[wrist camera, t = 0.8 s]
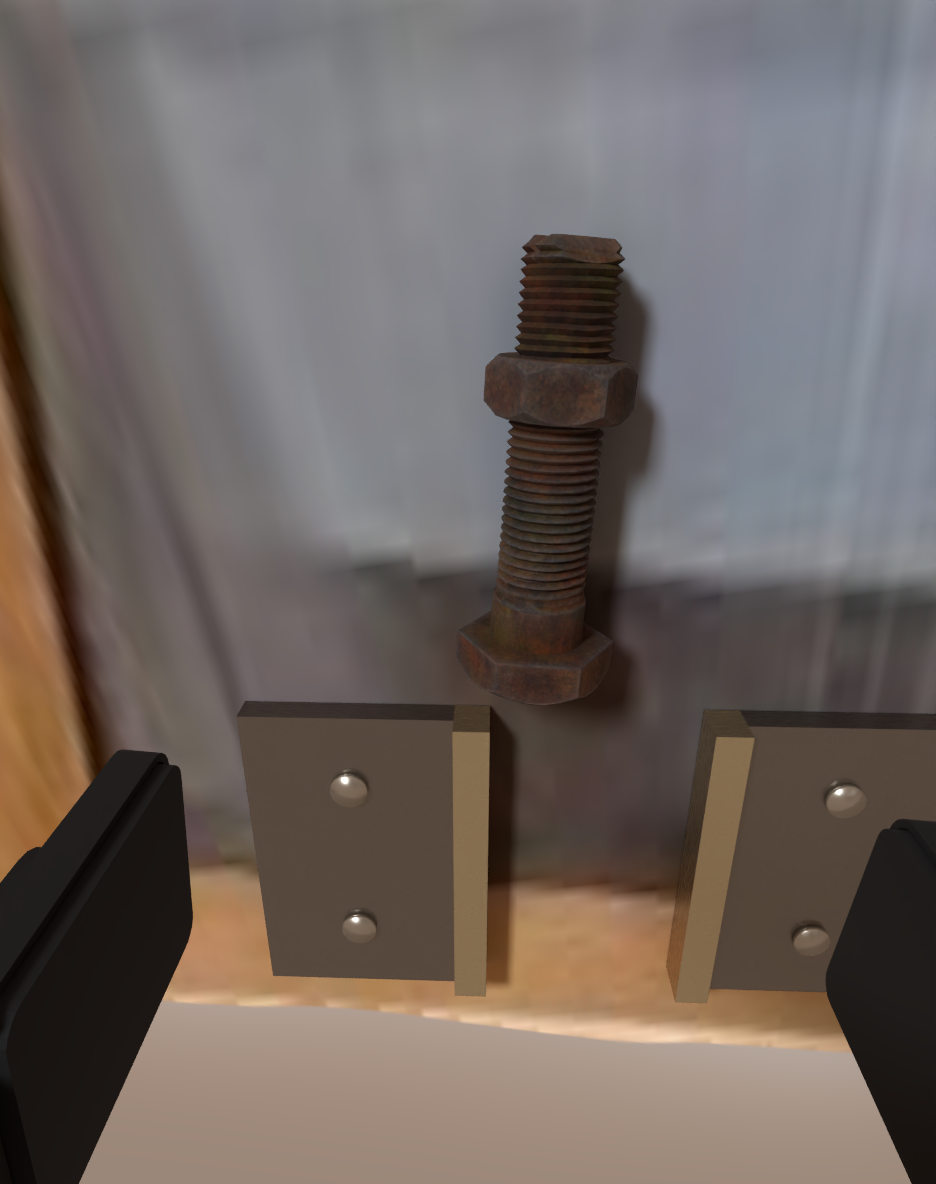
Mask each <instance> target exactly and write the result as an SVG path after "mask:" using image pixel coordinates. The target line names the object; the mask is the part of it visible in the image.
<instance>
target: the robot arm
mask: <svg viewBox="0 0 936 1184" xmlns="http://www.w3.org/2000/svg"><path fill="white" fill-rule="evenodd" d="M192 921H193V910H192V899H191V887H190V875H189V863H188V851H187V839H186V827H185V815H184V803H183V791H182V779H181V771H180V769H179V767H178V766H176V765H169V762H168V759H167V757H166V755H165V754H163V753H156V752H144V751H133V750H119V751H117V752H116V753H115V754H114V755H113V756H112V757H111V759H110V760H109V761H108V762H107V764H106V765H105V766H104V768H103V769H102V770H101V771H100V773H99V774H98V775H97V777H96V778H95V779H94V780H93V782H92V783H91V784H90V786H89V787H88V788H87V789H86V791H85V792H84V793H83V795H82V796H81V797H80V799H79V800H78V801H77V802H76V804H75V805H74V806H73V808H72V809H71V810H70V811H69V813H68V814H67V815H66V817H65V818H64V819H63V820H62V822H61V823H60V824H59V826H58V827H57V828H56V829H55V831H54V832H53V833H52V835H51V836H50V837H49V838H48V840H47V841H46V842H45V844H44V845H43V846H42V847H35V848H33V849H31V850H29V851H27V852H26V853H25V854H24V855H23V856H22V857H21V858H20V859H19V860H18V861H17V863H16V864H15V865H14V866H13V868H12V869H11V870H10V871H9V873H8V874H7V875H6V876H5V878H4V879H3V880H2V881H1V883H0V1184H79V1182H80V1180H81V1178H82V1175H83V1173H84V1171H85V1169H86V1167H87V1164H88V1162H89V1160H90V1158H91V1155H92V1153H93V1151H94V1149H95V1147H96V1144H97V1142H98V1140H99V1138H100V1136H101V1133H102V1131H103V1129H104V1127H105V1125H106V1122H107V1120H108V1118H109V1116H110V1113H111V1111H112V1109H113V1107H114V1104H115V1102H116V1100H117V1098H118V1096H119V1093H120V1091H121V1089H122V1087H123V1085H124V1082H125V1080H126V1078H127V1076H128V1074H129V1071H130V1069H131V1067H132V1065H133V1063H134V1060H135V1058H136V1056H137V1054H138V1051H139V1049H140V1047H141V1045H142V1043H143V1041H144V1038H145V1036H146V1034H147V1032H148V1029H149V1027H150V1025H151V1023H152V1021H153V1018H154V1016H155V1014H156V1012H157V1009H158V1007H159V1005H160V1003H161V1001H162V999H163V996H164V994H165V992H166V990H167V987H168V985H169V983H170V981H171V979H172V976H173V974H174V972H175V970H176V968H177V965H178V963H179V961H180V959H181V957H182V954H183V952H184V950H185V948H186V945H187V943H188V940H189V937H190V933H191V928H192ZM825 982H826V991H827V996H828V999H829V1001H830V1004H831V1006H832V1008H833V1011H834V1013H835V1015H836V1017H837V1020H838V1022H839V1024H840V1026H841V1028H842V1031H843V1033H844V1035H845V1037H846V1039H847V1042H848V1044H849V1046H850V1048H851V1050H852V1053H853V1055H854V1057H855V1059H856V1061H857V1064H858V1066H859V1068H860V1070H861V1073H862V1075H863V1077H864V1079H865V1081H866V1084H867V1086H868V1088H869V1090H870V1092H871V1095H872V1097H873V1099H874V1101H875V1104H876V1106H877V1108H878V1110H879V1112H880V1115H881V1117H882V1119H883V1121H884V1123H885V1125H886V1127H887V1130H888V1132H889V1134H890V1136H891V1139H892V1141H893V1143H894V1146H895V1148H896V1150H897V1152H898V1154H899V1157H900V1159H901V1161H902V1163H903V1165H904V1168H905V1170H906V1172H907V1174H908V1177H909V1179H910V1181H911V1183H912V1184H936V822H934V821H923V820H912V819H898V820H896V821H895V822H894V823H893V824H892V825H891V827H890V829H883V830H882V831H881V832H880V833H879V835H878V837H877V839H876V842H875V845H874V847H873V850H872V852H871V855H870V858H869V860H868V863H867V866H866V868H865V871H864V873H863V876H862V879H861V881H860V884H859V887H858V889H857V892H856V895H855V897H854V900H853V902H852V905H851V908H850V910H849V913H848V916H847V918H846V921H845V923H844V926H843V929H842V931H841V934H840V937H839V939H838V942H837V945H836V947H835V950H834V952H833V955H832V958H831V960H830V963H829V966H828V968H827V972H826V981H825Z"/></svg>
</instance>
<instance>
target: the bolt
mask: <svg viewBox="0 0 936 1184" xmlns="http://www.w3.org/2000/svg"><path fill="white" fill-rule="evenodd" d="M522 248H523V249H524V250H525V251H526V252H527V253H528V254H527V255H525V256H524V257H523V258H521V260H522V261H523V262H524V263H525V264H526V266H525V267H523V268H522V269H521V270H522V272H523V273H524V274H525V276H526V277H525V278H524V279H522V280H521V281H520V283H521V284H522V285H523V286H524V287H525V289H523V290H522V291H520V292H519V293H520V295H521V296H522V297H523V299H524V300H523V301H522V302H520V303H519V304H518V305H519V306H520V307H521V308H522V310H523V311H522V312H521V313H519V314H518V315H517V316H518V317H519V318H520V320H521V321H522V323H520V324H519V325H517V326H516V327H517V328H518V329H519V330H520V332H521V334H519V335H518V336H516V337H515V338H516V339H517V340H518V341H519V342H520V343H521V344H520V345H518V346H517V347H515V350H516V351H517V352H509V353H500V354H498V355H497V356H496V357H495V358H494V359H493V360H492V361H491V362H490V363H489V364H488V365H487V366H486V371H485V387H484V401H485V403H486V404H487V405H488V406H489V407H490V409H491V410H492V411H493V412H494V414H495V415H497V416H499V417H502V418H505V419H507V420H510V421H509V423H510V424H511V425H512V426H513V428H512V429H510V430H509V431H508V433H509V434H510V435H511V436H512V438H511V439H509V440H508V441H507V443H508V444H509V445H510V446H512V447H511V448H510V449H508V450H507V451H506V452H507V453H508V454H509V455H510V456H511V457H510V458H508V459H507V460H506V463H507V465H509V466H510V467H509V468H507V469H506V470H505V473H506V474H508V475H509V477H507V478H506V479H505V481H504V483H506V484H507V485H508V486H507V487H505V489H504V491H503V492H504V493H505V494H506V496H505V497H504V498H503V502H504V503H505V504H506V505H504V506H503V508H502V510H503V512H504V513H505V514H504V515H503V516H502V520H503V522H504V523H503V524H502V525H501V528H502V530H503V532H502V533H501V535H500V537H501V540H502V541H501V542H500V545H499V546H500V549H501V550H500V552H499V558H500V559H499V562H498V567H499V568H498V571H497V573H498V577H497V582H496V588H495V589H494V592H493V602H492V611H490V612H488V613H487V614H485V615H483V616H482V617H480V618H478V619H477V620H475V621H473V622H472V623H470V624H468V625H467V626H465V627H463V628H462V629H460V630H458V633H457V653H456V657H457V659H458V661H459V663H460V665H461V667H462V669H463V670H464V672H465V673H466V675H467V676H468V678H469V679H470V680H471V681H472V682H473V683H474V684H475V685H476V686H477V687H479V688H481V689H483V690H485V691H488V692H490V693H492V694H495V695H497V696H499V697H503V698H506V699H509V700H513V701H516V702H519V703H523V704H530V705H548V704H555V703H562V702H568V701H572V700H576V699H580V698H583V697H586V696H588V695H589V694H591V693H592V692H593V691H594V690H595V689H596V688H597V687H598V685H599V684H600V683H601V681H602V680H603V678H604V676H605V675H606V673H607V671H608V669H609V668H610V661H611V654H612V648H613V641H612V640H611V639H609V638H608V637H606V636H605V635H603V634H602V633H600V632H598V631H597V630H595V629H594V628H592V627H591V626H589V625H588V624H586V623H585V622H584V613H585V604H586V598H585V596H584V588H585V585H586V582H585V580H586V576H587V574H586V571H587V567H588V565H587V562H588V553H589V551H590V546H589V543H590V541H591V536H590V534H591V533H592V526H591V525H592V524H593V521H594V520H593V517H592V516H593V514H594V508H593V507H594V505H595V503H596V501H595V500H594V497H595V496H596V494H597V493H596V489H594V488H595V487H597V485H598V482H597V480H596V479H595V478H596V477H598V475H599V472H598V471H597V470H596V468H598V467H599V465H600V462H599V461H598V460H597V458H598V457H600V455H601V452H600V451H599V450H598V448H599V447H601V446H602V442H601V441H600V440H599V438H601V437H602V436H603V435H604V434H603V432H602V431H601V430H600V428H601V427H612V426H615V425H618V424H621V423H622V422H623V421H624V420H625V419H626V418H627V417H628V416H629V414H630V413H631V412H632V411H633V408H634V401H635V394H636V386H637V379H638V375H637V374H636V373H635V371H634V370H633V368H632V367H631V365H630V364H629V363H627V362H625V361H620V360H615V359H611V358H610V357H609V356H608V354H610V353H611V352H612V351H614V349H613V348H612V347H611V346H610V345H609V344H610V343H611V342H612V341H614V340H615V338H614V337H613V336H612V335H611V334H610V333H611V332H612V331H614V330H615V329H616V328H617V327H615V326H614V325H613V324H612V323H611V322H612V321H614V320H615V319H616V318H617V317H618V316H617V315H616V314H615V313H614V312H612V311H613V310H615V309H616V308H617V307H618V306H619V304H618V303H617V302H615V301H614V299H615V298H616V297H618V296H619V295H620V294H621V293H620V292H619V291H618V290H616V289H615V288H616V287H617V286H618V285H619V284H621V283H622V281H621V280H620V279H619V278H618V277H617V276H618V275H619V274H620V273H622V272H623V271H624V270H623V269H622V268H621V267H620V266H619V265H618V264H620V263H621V262H622V261H624V260H625V258H624V257H623V256H622V255H621V254H620V251H621V249H622V247H621V245H620V244H619V243H618V242H617V241H616V240H615V239H608V238H598V237H588V236H577V235H566V234H551V235H549V236H545V235H534V236H533V237H532V239H531V240H530V241H529V242H528V243H527V244H525V245H524V246H523V247H522Z"/></svg>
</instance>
